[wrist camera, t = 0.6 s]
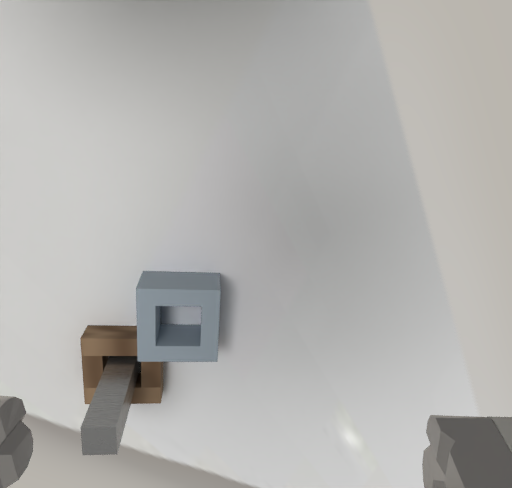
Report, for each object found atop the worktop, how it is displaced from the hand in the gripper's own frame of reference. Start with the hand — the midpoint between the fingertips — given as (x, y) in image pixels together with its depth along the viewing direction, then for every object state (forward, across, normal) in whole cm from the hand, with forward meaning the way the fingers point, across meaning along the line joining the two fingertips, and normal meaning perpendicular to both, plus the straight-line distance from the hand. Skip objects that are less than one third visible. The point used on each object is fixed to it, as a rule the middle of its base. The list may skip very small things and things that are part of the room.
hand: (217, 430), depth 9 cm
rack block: (+39, +13, +18) cm, 45 cm away
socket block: (+37, +20, +25) cm, 49 cm away
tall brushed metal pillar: (+37, +20, +25) cm, 49 cm away
